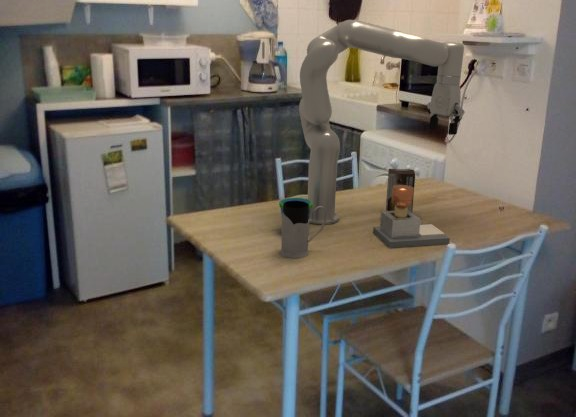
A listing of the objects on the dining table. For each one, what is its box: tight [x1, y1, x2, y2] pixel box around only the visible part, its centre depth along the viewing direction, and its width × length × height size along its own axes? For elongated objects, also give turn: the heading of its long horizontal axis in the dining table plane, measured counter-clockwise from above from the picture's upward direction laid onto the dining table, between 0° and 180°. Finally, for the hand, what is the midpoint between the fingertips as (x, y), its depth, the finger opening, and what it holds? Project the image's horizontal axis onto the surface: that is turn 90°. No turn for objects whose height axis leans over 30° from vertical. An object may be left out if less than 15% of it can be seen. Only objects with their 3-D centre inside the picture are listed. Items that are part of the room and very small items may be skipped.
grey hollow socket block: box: [379, 210, 421, 239], centre depth 196 cm, size 9×9×6 cm
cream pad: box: [419, 223, 446, 237], centre depth 199 cm, size 8×9×1 cm
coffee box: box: [385, 168, 416, 213], centre depth 219 cm, size 9×6×16 cm
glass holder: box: [279, 201, 327, 259], centre depth 183 cm, size 9×14×15 cm, turn 111°
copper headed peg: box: [392, 185, 415, 218], centre depth 195 cm, size 6×6×15 cm
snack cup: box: [278, 197, 313, 220], centre depth 200 cm, size 16×10×10 cm
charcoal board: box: [372, 223, 451, 249], centre depth 198 cm, size 20×14×2 cm
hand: (442, 131), depth 212 cm, fingers open, 9 cm apart
